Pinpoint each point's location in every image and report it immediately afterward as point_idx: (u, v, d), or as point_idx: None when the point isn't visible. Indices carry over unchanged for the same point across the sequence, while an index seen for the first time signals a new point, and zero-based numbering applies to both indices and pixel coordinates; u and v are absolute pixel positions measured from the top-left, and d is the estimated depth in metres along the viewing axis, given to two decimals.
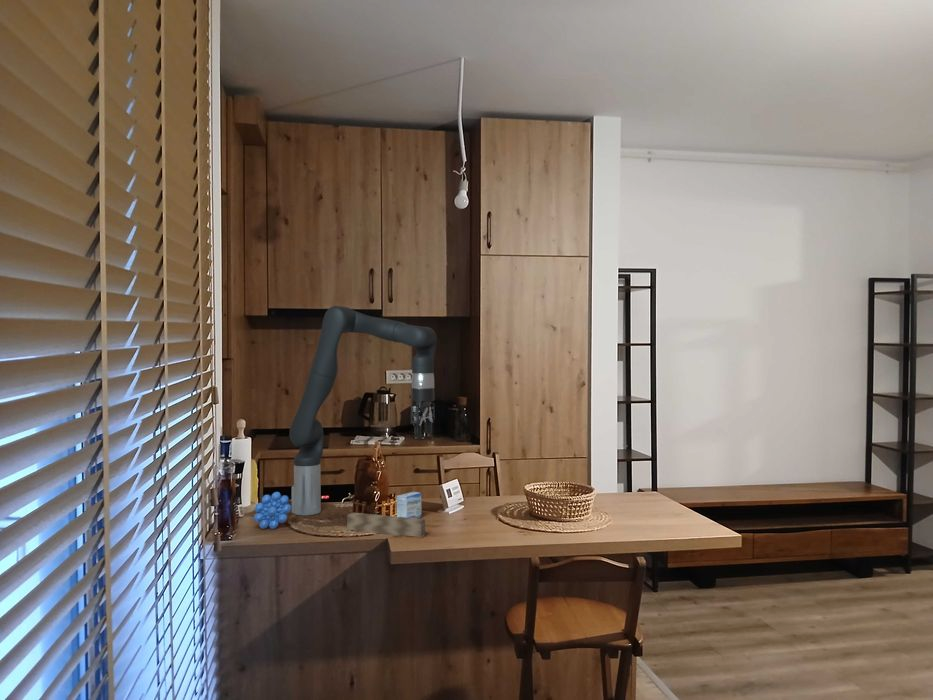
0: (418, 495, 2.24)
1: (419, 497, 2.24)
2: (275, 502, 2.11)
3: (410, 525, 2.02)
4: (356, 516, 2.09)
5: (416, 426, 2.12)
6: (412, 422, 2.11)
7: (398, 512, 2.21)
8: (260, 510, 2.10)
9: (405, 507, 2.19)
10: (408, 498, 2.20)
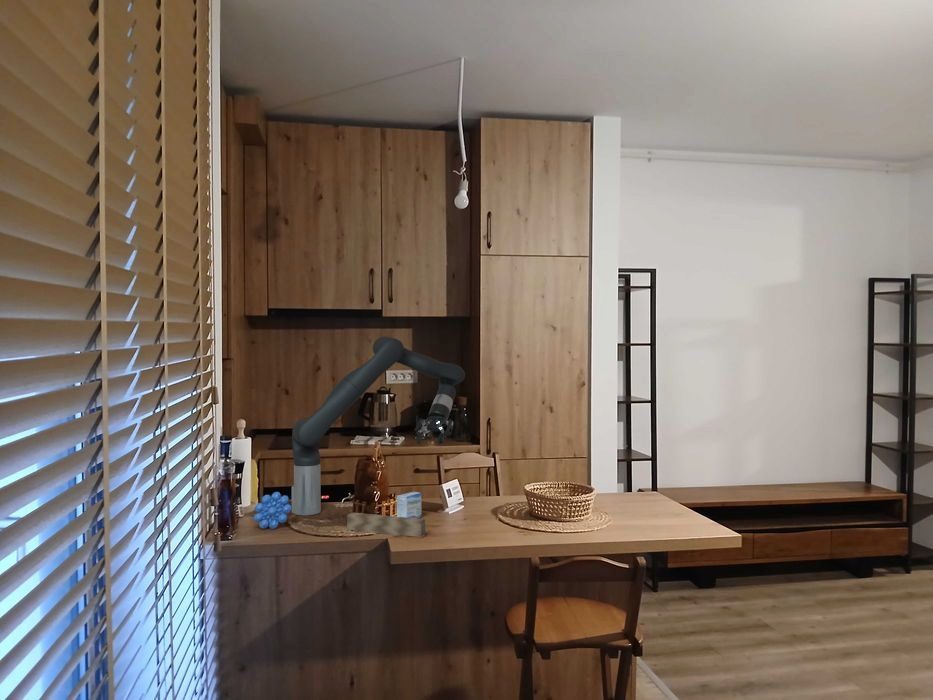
0: (418, 495, 2.24)
1: (419, 497, 2.24)
2: (275, 502, 2.11)
3: (410, 525, 2.02)
4: (356, 516, 2.09)
5: (444, 435, 2.42)
6: (449, 431, 2.42)
7: (398, 512, 2.21)
8: (260, 510, 2.10)
9: (405, 507, 2.19)
10: (408, 498, 2.20)
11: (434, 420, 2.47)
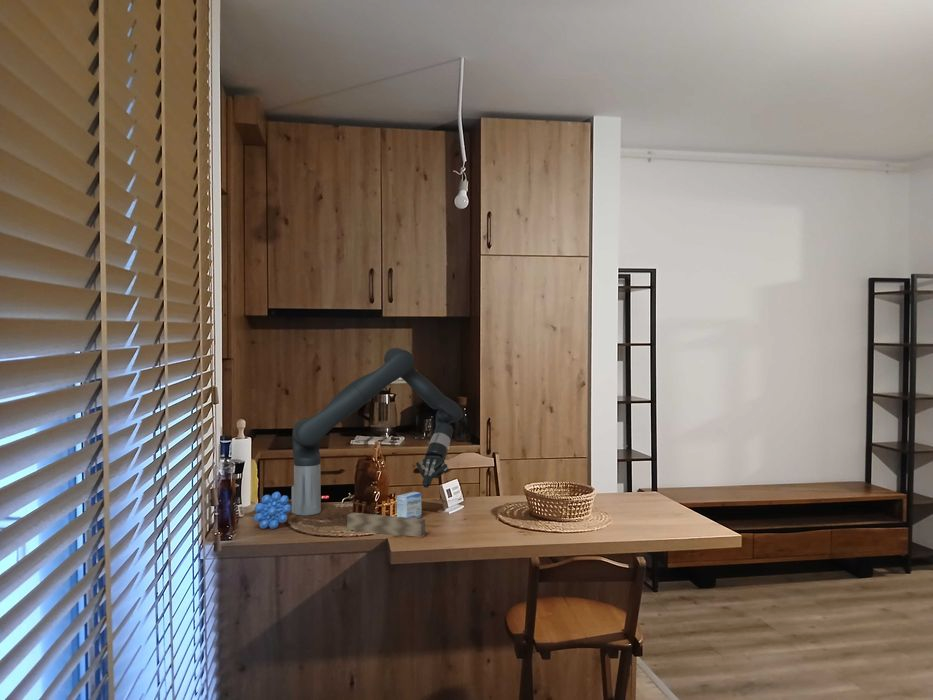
0: (418, 495, 2.24)
1: (419, 497, 2.24)
2: (275, 502, 2.11)
3: (410, 525, 2.02)
4: (356, 516, 2.09)
5: (432, 478, 2.38)
6: (436, 475, 2.38)
7: (398, 512, 2.21)
8: (260, 510, 2.10)
9: (405, 507, 2.19)
10: (408, 497, 2.20)
11: (432, 460, 2.43)
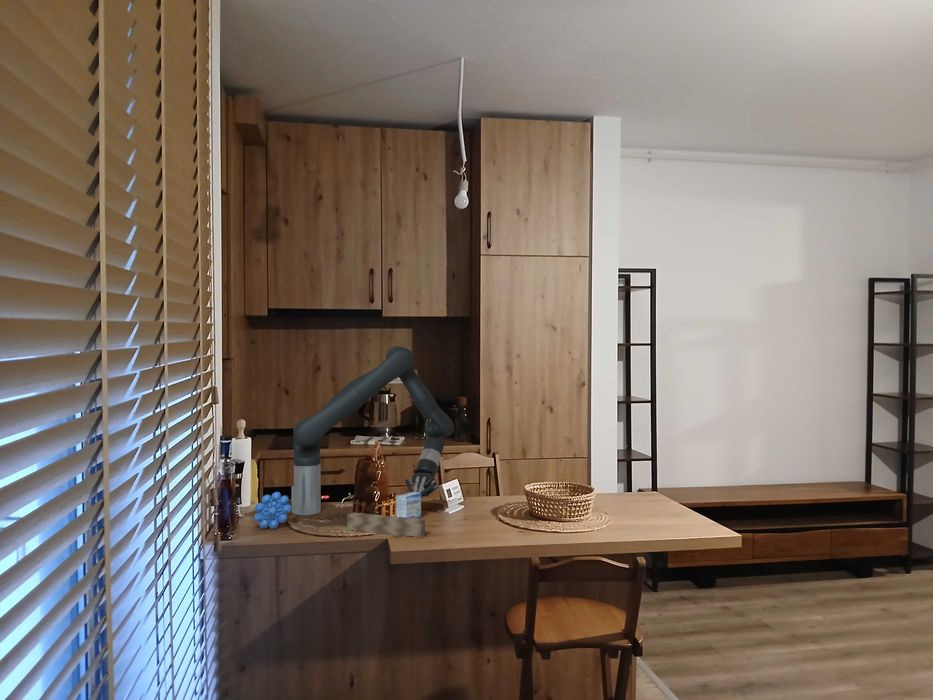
0: (418, 495, 2.23)
1: (419, 497, 2.24)
2: (275, 502, 2.11)
3: (410, 525, 2.02)
4: (356, 516, 2.09)
5: (421, 496, 2.29)
6: (425, 493, 2.29)
7: (398, 512, 2.20)
8: (260, 510, 2.10)
9: (405, 508, 2.18)
10: (408, 498, 2.19)
11: (421, 477, 2.34)
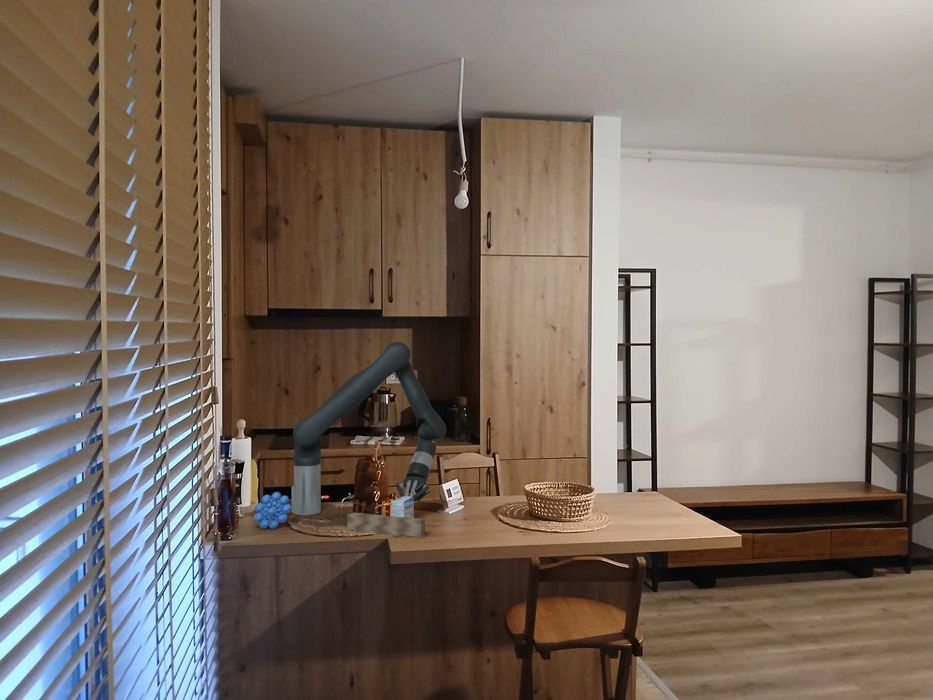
0: (411, 499, 2.17)
1: (412, 501, 2.18)
2: (275, 502, 2.11)
3: (410, 525, 2.02)
4: (356, 516, 2.09)
5: None
6: (417, 497, 2.22)
7: None
8: (260, 510, 2.10)
9: (403, 513, 2.11)
10: (405, 502, 2.13)
11: (413, 481, 2.27)
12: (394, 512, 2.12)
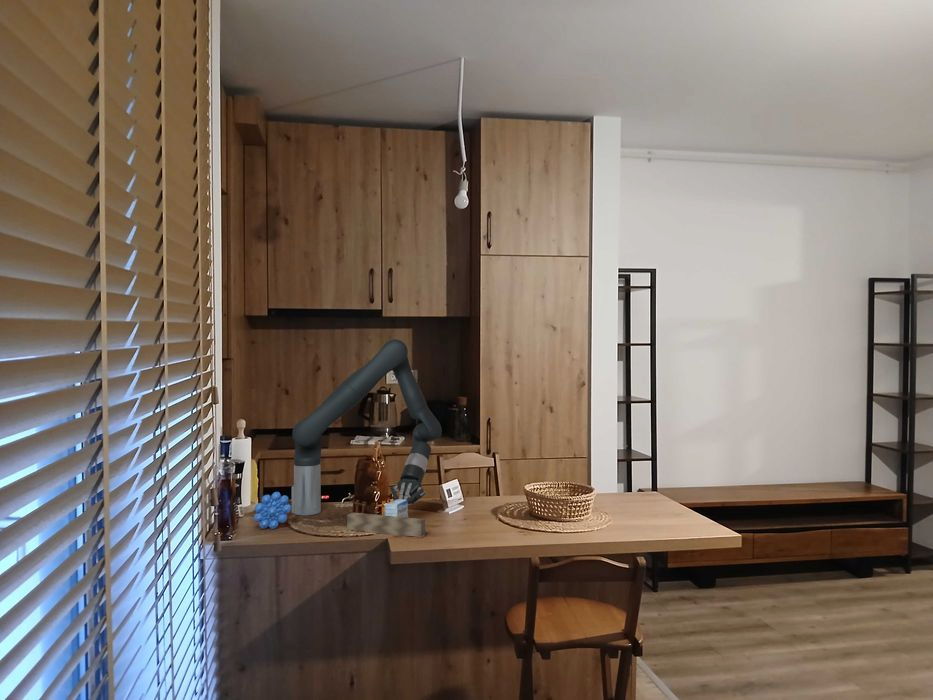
0: (405, 502, 2.13)
1: (406, 504, 2.13)
2: (275, 502, 2.11)
3: (410, 525, 2.02)
4: (356, 516, 2.09)
5: None
6: (411, 500, 2.18)
7: None
8: (260, 510, 2.10)
9: (396, 516, 2.07)
10: (398, 506, 2.08)
11: (407, 483, 2.22)
12: (387, 515, 2.08)
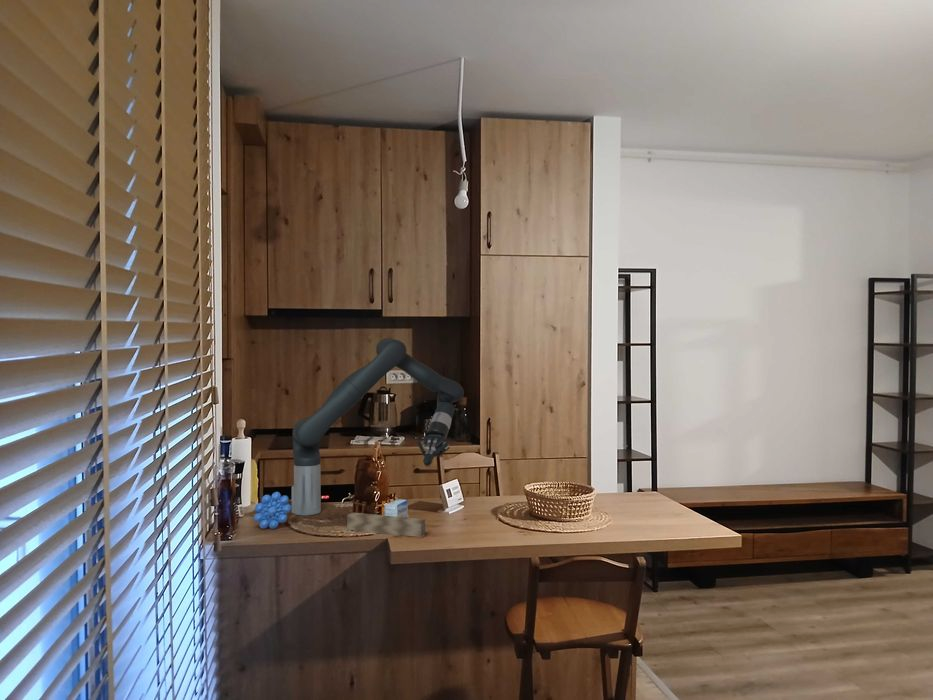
0: (405, 503, 2.13)
1: (406, 505, 2.13)
2: (275, 502, 2.11)
3: (410, 525, 2.02)
4: (356, 516, 2.09)
5: (433, 456, 2.38)
6: (437, 453, 2.38)
7: None
8: (260, 510, 2.10)
9: (396, 516, 2.07)
10: (398, 506, 2.08)
11: (433, 438, 2.43)
12: None
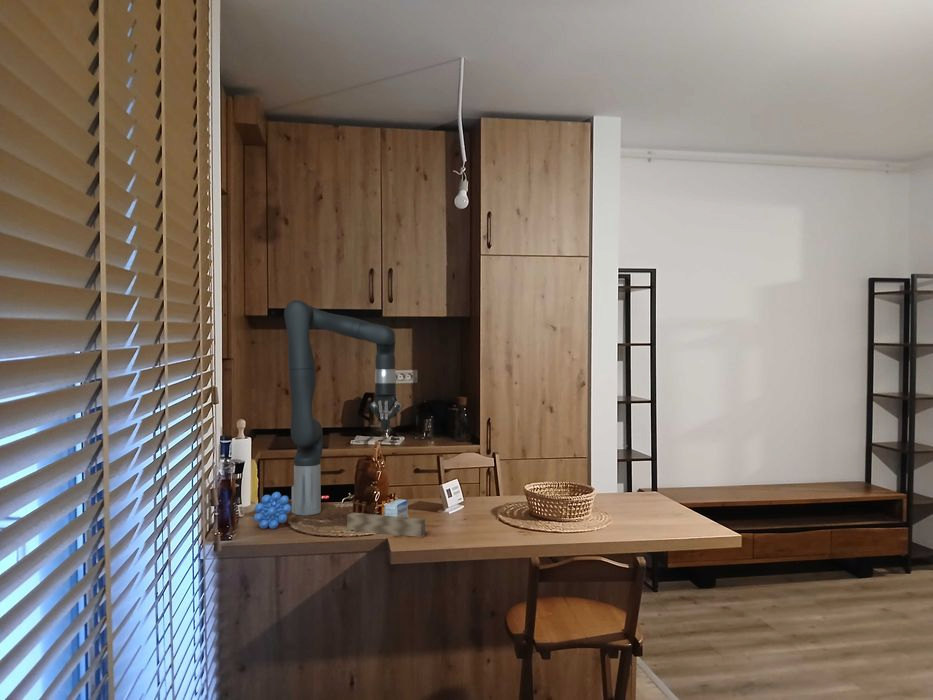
0: (405, 503, 2.13)
1: (406, 505, 2.13)
2: (275, 502, 2.11)
3: (410, 525, 2.02)
4: (356, 516, 2.09)
5: (389, 419, 2.35)
6: (392, 417, 2.33)
7: None
8: (260, 510, 2.10)
9: (396, 516, 2.07)
10: (398, 506, 2.08)
11: (383, 400, 2.34)
12: None
